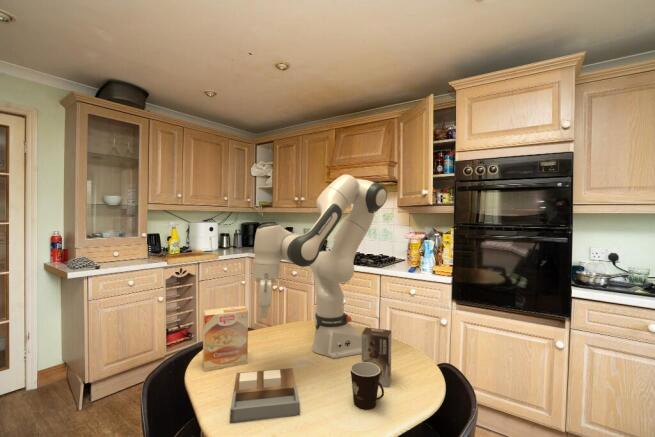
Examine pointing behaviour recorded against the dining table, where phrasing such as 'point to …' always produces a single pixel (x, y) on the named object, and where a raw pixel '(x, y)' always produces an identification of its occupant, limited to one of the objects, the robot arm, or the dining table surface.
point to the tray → (264, 408)
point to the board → (267, 392)
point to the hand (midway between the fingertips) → (263, 313)
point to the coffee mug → (365, 384)
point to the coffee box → (378, 351)
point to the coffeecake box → (225, 337)
